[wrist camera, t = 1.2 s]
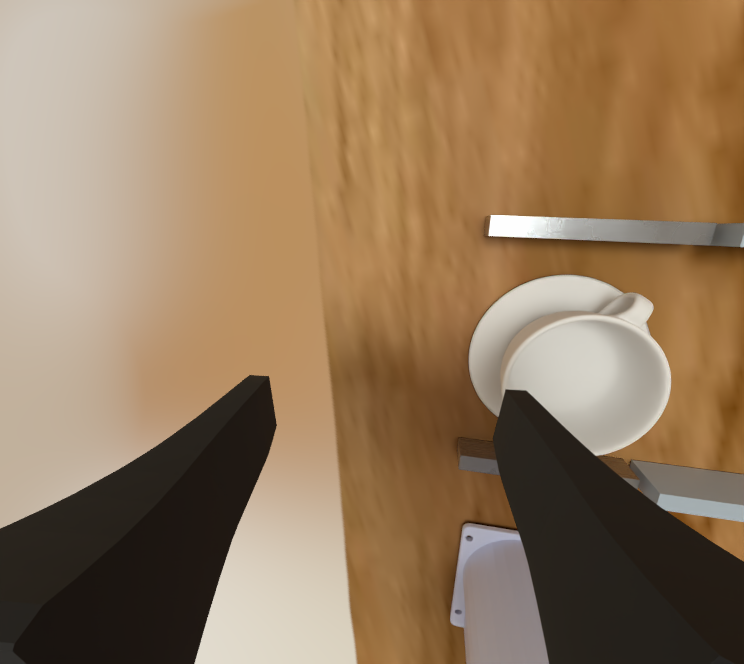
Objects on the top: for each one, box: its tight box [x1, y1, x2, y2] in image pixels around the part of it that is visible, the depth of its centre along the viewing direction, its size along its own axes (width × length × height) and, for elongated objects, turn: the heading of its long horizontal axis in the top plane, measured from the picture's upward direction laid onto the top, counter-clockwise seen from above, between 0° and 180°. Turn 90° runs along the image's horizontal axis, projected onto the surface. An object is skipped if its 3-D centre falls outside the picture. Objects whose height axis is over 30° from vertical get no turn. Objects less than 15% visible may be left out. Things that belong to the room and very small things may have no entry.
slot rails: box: [457, 215, 717, 489], centre depth 20 cm, size 15×10×2 cm, turn 178°
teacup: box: [468, 275, 671, 456], centre depth 19 cm, size 10×10×5 cm
